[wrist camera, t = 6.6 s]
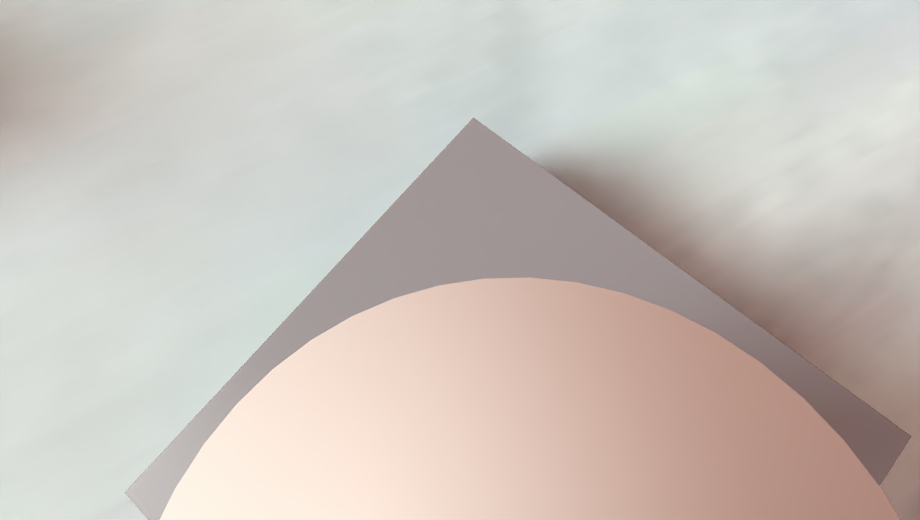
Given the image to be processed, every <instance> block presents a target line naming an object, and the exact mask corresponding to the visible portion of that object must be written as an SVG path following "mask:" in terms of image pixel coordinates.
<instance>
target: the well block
mask: <svg viewBox="0 0 920 520" xmlns="http://www.w3.org/2000/svg"><path fill="white" fill-rule="evenodd" d="M529 277H531V278H540V279H550V280H560V281H570V282H578V283H582V284H587V285H591V286H595V287H600V288H604V289H608V290H613V291H617V292H621V293H625V294H628V295H631V296H633V297H636V298H639V299H642V300H644V301H647V302H650V303H653V304H655V305H658V306H661V307H664V308H666V309H669V310H672V311H674V312H675V313H677V314H679V315H681V316H683V317H685V318H687V319H689V320H691V321H693V322H695V323H697V324H699V325H701V326H703V327H705V328H707V329H709V330H711V331H713V332H715V333H717V334H718V335H720V336H721V337H723V338H725V339H726V340H728V341H729V342H731V343H732V344H734V345H735V346H737V347H738V348H740V349H741V350H743V351H744V352H746V353H747V354H749V355H750V356H752V357H753V358H755V359H756V360H758V361H759V362H761V363H762V364H763V365H764V366H766V367H767V368H768V369H769V370H770V371H772V372H773V373H774V374H775V375H776V376H778V377H779V378H780V379H781V380H782V381H784V382H785V383H786V384H787V385H788V386H790V387H791V388H792V389H793V390H794V391H796V392H797V393H798V394H799V395H800V396H802V397H803V398H804V399H805V400H806V401H807V402H808V403H809V404H810V405H811V406H812V407H813V408H814V410H815V411H816V412H817V413H818V414H819V415H820V416H821V417H822V418H823V419H824V420H825V421H826V422H827V423H828V424H829V425H830V426H831V427H832V428H833V429H834V430H835V431H836V433H837V434H838V435H839V436H840V437H841V438H842V439H843V440H844V441H845V442H846V444H847V445H848V446H849V447H850V449H851V450H852V451H853V453H854V454H855V455H856V457H857V458H858V459H859V460H860V462H861V463H862V464H863V466H864V467H865V468H866V470H867V471H868V472H869V473H870V475H871V476H872V477H873V479H874V480H875V481H876V483H877V484H878V485H880V484H881V482H882V481H883V479H884V478H885V476H886V475H887V473H888V472H889V470H890V469H891V467H892V466H893V464H894V462H895V461H896V459H897V458H898V456H899V455H900V453H901V452H902V450H903V449H904V447H905V446H906V444H907V442H908V441H909V439H910V438H911V436H910V435H909V434H907V433H906V432H904V431H903V430H902V429H900V428H899V427H898V426H896V425H895V424H893V423H892V422H891V421H889V420H888V419H887V418H885V417H884V416H882V415H881V414H880V413H878V412H877V411H876V410H874V409H873V408H871V407H870V406H869V405H867V404H866V403H865V402H863V401H862V400H860V399H859V398H858V397H856V396H855V395H854V394H852V393H851V392H849V391H848V390H847V389H845V388H844V387H843V386H841V385H840V384H838V383H837V382H836V381H834V380H833V379H832V378H830V377H829V376H828V375H826V374H825V373H823V372H822V371H821V370H819V369H818V368H817V367H815V366H814V365H812V364H811V363H810V362H808V361H807V360H806V359H804V358H803V357H801V356H800V355H799V354H797V353H796V352H795V351H793V350H792V349H790V348H789V347H788V346H786V345H785V344H784V343H782V342H781V341H779V340H778V339H777V338H775V337H774V336H773V335H771V334H770V333H768V332H767V331H766V330H764V329H763V328H762V327H760V326H759V325H757V324H756V323H755V322H753V321H752V320H751V319H749V318H748V317H746V316H745V315H744V314H742V313H741V312H740V311H738V310H737V309H736V308H734V307H733V306H731V305H730V304H729V303H727V302H726V301H725V300H723V299H722V298H720V297H719V296H718V295H716V294H715V293H714V292H712V291H711V290H709V289H708V288H707V287H705V286H704V285H703V284H701V283H700V282H698V281H697V280H696V279H694V278H693V277H692V276H690V275H689V274H687V273H686V272H685V271H683V270H682V269H681V268H679V267H678V266H676V265H675V264H674V263H672V262H671V261H670V260H668V259H667V258H665V257H664V256H663V255H661V254H660V253H659V252H657V251H656V250H655V249H653V248H652V247H650V246H649V245H648V244H646V243H645V242H644V241H642V240H641V239H639V238H638V237H637V236H635V235H634V234H633V233H631V232H630V231H628V230H627V229H626V228H624V227H623V226H622V225H620V224H619V223H617V222H616V221H615V220H613V219H612V218H611V217H609V216H608V215H606V214H605V213H604V212H602V211H601V210H600V209H598V208H597V207H595V206H594V205H593V204H591V203H590V202H589V201H587V200H586V199H584V198H583V197H582V196H580V195H579V194H578V193H576V192H575V191H573V190H572V189H571V188H569V187H568V186H567V185H565V184H564V183H563V182H561V181H560V180H558V179H557V178H556V177H554V176H553V175H552V174H550V173H549V172H547V171H546V170H545V169H543V168H542V167H541V166H539V165H538V164H536V163H535V162H534V161H532V160H531V159H530V158H528V157H527V156H525V155H524V154H523V153H521V152H520V151H519V150H517V149H516V148H514V147H513V146H512V145H510V144H509V143H508V142H506V141H505V140H503V139H502V138H501V137H499V136H498V135H497V134H495V133H494V132H492V131H491V130H490V129H488V128H487V127H486V126H484V125H483V124H481V123H480V122H479V121H477V120H476V119H475V118H473V119H472V120H471V121H470V122H469V123H468V124H467V125H466V126H465V127H464V128H463V129H462V130H461V132H460V133H459V134H458V135H457V136H456V137H455V138H454V139H453V140H452V141H451V142H450V143H449V144H448V146H447V147H446V148H445V149H444V150H443V151H442V152H441V153H440V154H439V155H438V156H437V157H436V158H435V159H434V161H433V162H432V163H431V164H430V165H429V166H428V167H427V168H426V169H425V170H424V171H423V172H422V173H421V175H420V176H419V177H418V178H417V179H416V180H415V181H414V182H413V183H412V184H411V185H410V186H409V187H408V189H407V190H406V191H405V192H404V193H403V194H402V195H401V196H400V197H399V198H398V199H397V200H396V201H395V203H394V204H393V205H392V206H391V207H390V208H389V209H388V210H387V211H386V212H385V213H384V214H383V215H382V216H381V218H380V219H379V220H378V221H377V222H376V223H375V224H374V225H373V226H372V227H371V228H370V229H369V230H368V232H367V233H366V234H365V235H364V236H363V237H362V238H361V239H360V240H359V241H358V242H357V243H356V244H355V246H354V247H353V248H352V249H351V250H350V251H349V252H348V253H347V254H346V255H345V256H344V257H343V258H342V259H341V261H340V262H339V263H338V264H337V265H336V266H335V267H334V268H333V269H332V270H331V271H330V272H329V273H328V275H327V276H326V277H325V278H324V279H323V280H322V281H321V282H320V283H319V284H318V285H317V286H316V287H315V289H314V290H313V291H312V292H311V293H310V294H309V295H308V296H307V297H306V298H305V299H304V300H303V301H302V303H301V304H300V305H299V306H298V307H297V308H296V309H295V310H294V311H293V312H292V313H291V314H290V315H289V316H288V318H287V319H286V320H285V321H284V322H283V323H282V324H281V325H280V326H279V327H278V328H277V329H276V330H275V332H274V333H273V334H272V335H271V336H270V337H269V338H268V339H267V340H266V341H265V342H264V343H263V344H262V346H261V347H260V348H259V349H258V350H257V351H256V352H255V353H254V354H253V355H252V356H251V357H250V358H249V359H248V361H247V362H246V363H245V364H244V365H243V366H242V367H241V368H240V369H239V370H238V371H237V372H236V373H235V375H234V376H233V377H232V378H231V379H230V380H229V381H228V382H227V383H226V384H225V385H224V386H223V387H222V389H221V390H220V391H219V392H218V393H217V394H216V395H215V396H214V397H213V398H212V399H211V400H210V401H209V403H208V404H207V405H206V406H205V407H204V408H203V409H202V410H201V411H200V412H199V413H198V414H197V415H196V416H195V418H194V419H193V420H192V421H191V422H190V423H189V424H188V425H187V426H186V427H185V428H184V429H183V430H182V432H181V433H180V434H179V435H178V436H177V437H176V438H175V439H174V440H173V441H172V442H171V443H170V444H169V446H168V447H167V448H166V449H165V450H164V451H163V452H162V453H161V454H160V455H159V456H158V457H157V458H156V459H155V461H154V462H153V463H152V464H151V465H150V466H149V467H148V468H147V469H146V470H145V471H144V472H143V473H142V475H141V476H140V477H139V478H138V479H137V480H136V481H135V482H134V483H133V484H132V485H131V486H130V487H129V489H128V490H127V491H126V492H125V493H126V495H127V496H128V497H129V498H130V499H131V500H132V502H133V503H134V504H135V505H136V506H137V507H138V509H139V510H140V511H141V512H142V513H143V514H144V515H145V517H146V518H147V519H148V520H160V518H161V516H162V514H163V512H164V510H165V508H166V506H167V504H168V502H169V500H170V498H171V496H172V494H173V492H174V490H175V488H176V486H177V485H178V483H179V482H180V480H181V479H182V477H183V476H184V474H185V473H186V471H187V469H188V468H189V466H190V465H191V463H192V462H193V460H194V459H195V457H196V456H197V454H198V452H199V451H200V449H201V448H202V446H203V445H204V443H205V442H206V441H207V440H208V438H209V437H210V436H211V435H212V434H213V432H214V431H215V430H216V429H217V427H218V426H219V425H220V424H221V423H222V421H223V420H224V419H225V418H226V416H227V415H228V414H229V413H230V412H231V410H232V409H233V408H234V407H235V405H236V404H237V403H238V402H239V401H240V400H241V399H242V398H243V397H244V396H245V395H246V394H248V393H249V392H250V391H251V390H252V389H253V388H254V387H255V386H256V385H257V384H258V383H259V382H260V381H261V380H262V379H263V378H264V377H265V376H266V375H267V374H268V373H269V372H270V371H271V370H272V369H274V368H275V367H276V366H278V365H279V364H280V363H281V362H283V361H284V360H285V359H287V358H288V357H289V356H291V355H292V354H293V353H295V352H296V351H297V350H299V349H300V348H301V347H303V346H304V345H305V344H307V343H308V342H309V341H310V340H312V339H314V338H315V337H317V336H319V335H321V334H322V333H324V332H326V331H327V330H329V329H331V328H333V327H334V326H336V325H338V324H339V323H341V322H343V321H345V320H346V319H348V318H350V317H351V316H354V315H356V314H358V313H361V312H363V311H365V310H368V309H370V308H372V307H375V306H377V305H379V304H382V303H384V302H386V301H389V300H391V299H393V298H396V297H400V296H403V295H407V294H410V293H414V292H417V291H421V290H424V289H428V288H432V287H435V286H439V285H445V284H451V283H458V282H465V281H471V280H478V279H486V278H529Z"/></svg>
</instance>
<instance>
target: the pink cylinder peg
mask: <svg viewBox="0 0 920 520" xmlns="http://www.w3.org/2000/svg"><path fill="white" fill-rule="evenodd" d="M160 520H900V518H899V517H898V515H897V514H896V512H895V510H894V509H893V507H892V505H891V504H890V502H889V500H888V499H887V497H886V496H885V494H884V492H883V491H882V489H881V488H880V486H879V485H878V484H877V483H876V481H875V480H874V479H873V477H872V476H871V475H870V473H869V472H868V471H867V470H866V468H865V467H864V466H863V464H862V463H861V462H860V460H859V459H858V458H857V457H856V455H855V454H854V453H853V451H852V450H851V449H850V447H849V446H848V445H847V444H846V442H845V441H844V440H843V439H842V438H841V437H840V436H839V435H838V434H837V433H836V431H835V430H834V429H833V428H832V427H831V426H830V425H829V424H828V423H827V422H826V421H825V420H824V419H823V418H822V417H821V416H820V415H819V414H818V413H817V412H816V411H815V410H814V408H813V407H812V406H811V405H810V404H809V403H808V402H807V401H806V400H805V399H804V398H803V397H802V396H800V395H799V394H798V393H797V392H796V391H794V390H793V389H792V388H791V387H790V386H788V385H787V384H786V383H785V382H784V381H782V380H781V379H780V378H779V377H778V376H776V375H775V374H774V373H773V372H772V371H770V370H769V369H768V368H767V367H766V366H764V365H763V364H762V363H761V362H759V361H758V360H756V359H755V358H753V357H752V356H750V355H749V354H747V353H746V352H744V351H743V350H741V349H740V348H738V347H737V346H735V345H734V344H732V343H731V342H729V341H728V340H726V339H725V338H723V337H721V336H720V335H718V334H717V333H715V332H713V331H711V330H709V329H707V328H705V327H703V326H701V325H699V324H697V323H695V322H693V321H691V320H689V319H687V318H685V317H683V316H681V315H679V314H677V313H675V312H674V311H672V310H669V309H666V308H664V307H661V306H658V305H655V304H653V303H650V302H647V301H644V300H642V299H639V298H636V297H633V296H631V295H628V294H625V293H621V292H617V291H613V290H608V289H604V288H600V287H595V286H591V285H587V284H582V283H578V282H570V281H560V280H550V279H540V278H531V277H529V278H486V279H478V280H471V281H465V282H458V283H451V284H445V285H439V286H435V287H432V288H428V289H424V290H421V291H417V292H414V293H410V294H407V295H403V296H400V297H396V298H393V299H391V300H389V301H386V302H384V303H382V304H379V305H377V306H375V307H372V308H370V309H368V310H365V311H363V312H361V313H358V314H356V315H354V316H351V317H350V318H348V319H346V320H345V321H343V322H341V323H339V324H338V325H336V326H334V327H333V328H331V329H329V330H327V331H326V332H324V333H322V334H321V335H319V336H317V337H315V338H314V339H312V340H310V341H309V342H308V343H307V344H305V345H304V346H303V347H301V348H300V349H299V350H297V351H296V352H295V353H293V354H292V355H291V356H289V357H288V358H287V359H285V360H284V361H283V362H281V363H280V364H279V365H278V366H276V367H275V368H274V369H272V370H271V371H270V372H269V373H268V374H267V375H266V376H265V377H264V378H263V379H262V380H261V381H260V382H259V383H258V384H257V385H256V386H255V387H254V388H253V389H252V390H251V391H250V392H249V393H248V394H246V395H245V396H244V397H243V398H242V399H241V400H240V401H239V402H238V403H237V404H236V405H235V407H234V408H233V409H232V410H231V412H230V413H229V414H228V415H227V416H226V418H225V419H224V420H223V421H222V423H221V424H220V425H219V426H218V427H217V429H216V430H215V431H214V432H213V434H212V435H211V436H210V437H209V438H208V440H207V441H206V442H205V443H204V445H203V446H202V448H201V449H200V451H199V452H198V454H197V456H196V457H195V459H194V460H193V462H192V463H191V465H190V466H189V468H188V469H187V471H186V473H185V474H184V476H183V477H182V479H181V480H180V482H179V483H178V485H177V486H176V488H175V490H174V492H173V494H172V496H171V498H170V500H169V502H168V504H167V506H166V508H165V510H164V512H163V514H162V516H161V518H160Z"/></svg>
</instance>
